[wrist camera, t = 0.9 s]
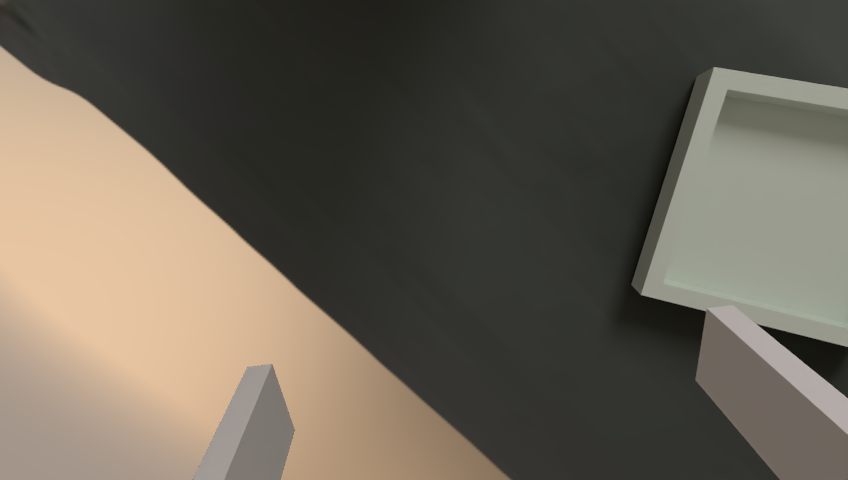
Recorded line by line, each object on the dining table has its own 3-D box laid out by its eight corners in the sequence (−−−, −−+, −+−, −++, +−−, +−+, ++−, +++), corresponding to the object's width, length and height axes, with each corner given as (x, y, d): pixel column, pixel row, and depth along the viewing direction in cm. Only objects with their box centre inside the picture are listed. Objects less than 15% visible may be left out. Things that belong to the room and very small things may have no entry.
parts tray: (696, 76, 32) (714, 67, 29) (954, 119, 29) (1001, 113, 26) (631, 284, 35) (640, 294, 32) (858, 340, 32) (891, 357, 30)
